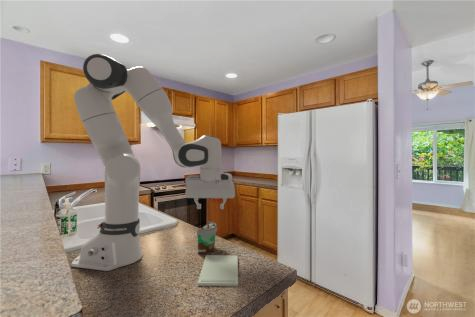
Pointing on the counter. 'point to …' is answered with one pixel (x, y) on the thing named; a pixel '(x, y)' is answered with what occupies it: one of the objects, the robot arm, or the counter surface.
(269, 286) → the counter surface
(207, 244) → the food container
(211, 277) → the cutting board
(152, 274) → the counter surface
